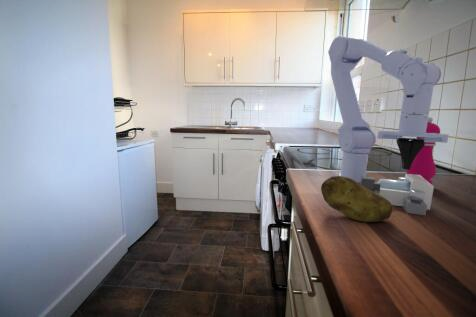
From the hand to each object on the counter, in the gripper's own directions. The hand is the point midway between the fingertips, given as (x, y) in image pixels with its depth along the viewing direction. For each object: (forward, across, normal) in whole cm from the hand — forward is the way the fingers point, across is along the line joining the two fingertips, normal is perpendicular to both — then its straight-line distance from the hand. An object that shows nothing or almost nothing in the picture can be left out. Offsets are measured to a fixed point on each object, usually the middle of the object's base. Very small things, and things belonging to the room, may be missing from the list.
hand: (405, 168), depth 65 cm
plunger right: (+7, 0, -12) cm, 14 cm away
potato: (+7, -12, -21) cm, 26 cm away
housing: (+7, -2, -6) cm, 9 cm away
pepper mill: (+7, +7, +13) cm, 16 cm away
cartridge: (+7, -4, -6) cm, 10 cm away
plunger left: (+7, 0, 0) cm, 7 cm away
